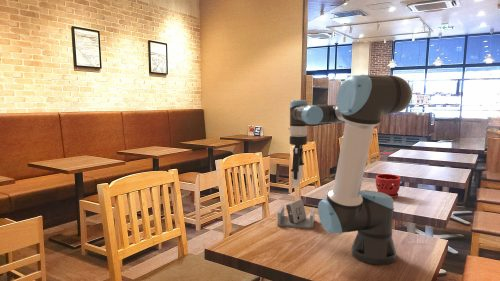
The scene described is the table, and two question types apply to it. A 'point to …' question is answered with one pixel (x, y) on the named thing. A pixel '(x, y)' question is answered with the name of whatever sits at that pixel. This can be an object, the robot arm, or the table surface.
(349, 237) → the table surface
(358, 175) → the robot arm
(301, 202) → the electrical switch
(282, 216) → the housing
